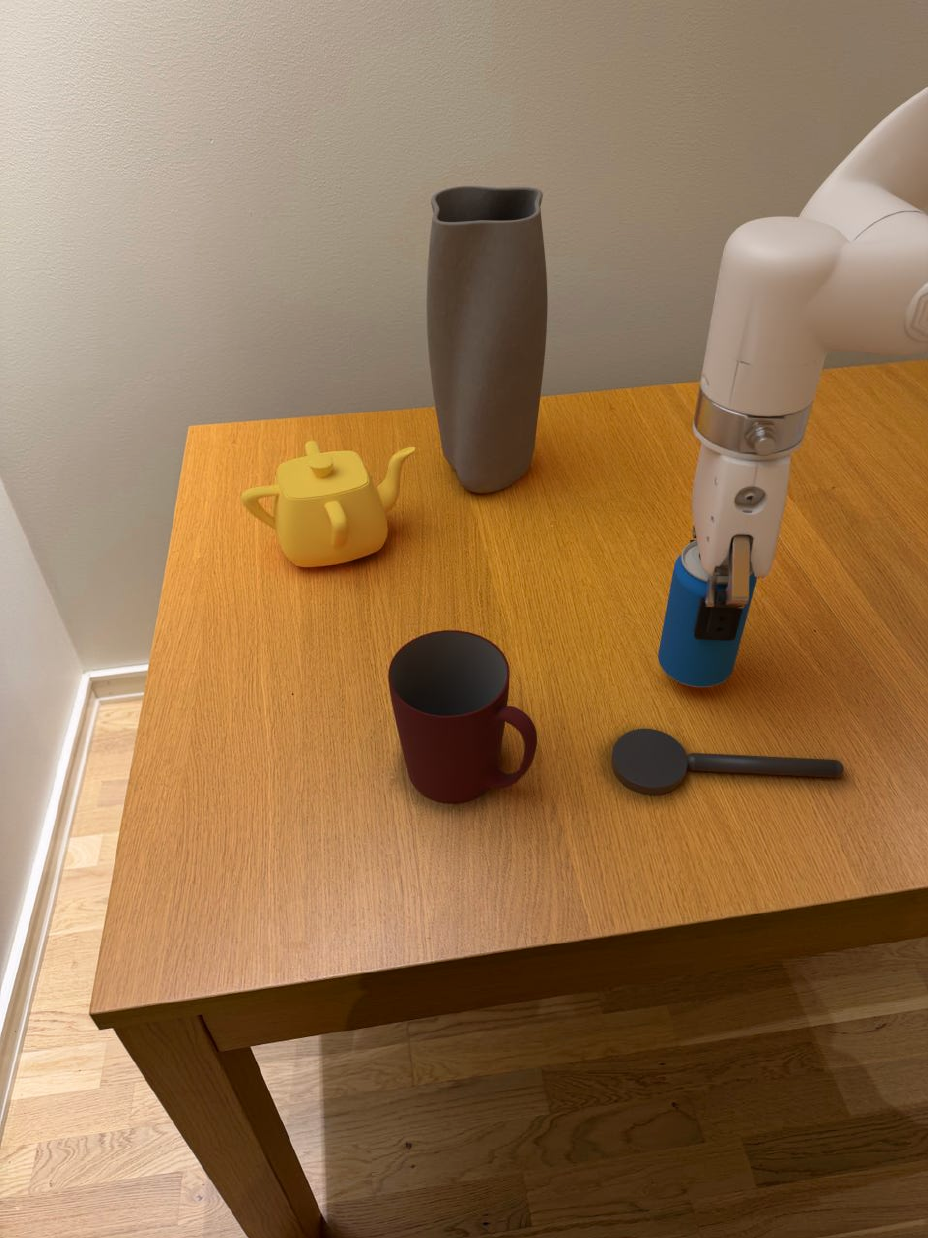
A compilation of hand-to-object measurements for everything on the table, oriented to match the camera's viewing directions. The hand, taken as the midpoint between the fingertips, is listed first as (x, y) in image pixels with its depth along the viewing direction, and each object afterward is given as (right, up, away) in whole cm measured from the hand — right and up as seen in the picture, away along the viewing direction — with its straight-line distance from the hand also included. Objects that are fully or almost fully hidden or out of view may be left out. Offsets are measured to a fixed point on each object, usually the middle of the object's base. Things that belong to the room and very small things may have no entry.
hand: (708, 606), depth 73 cm
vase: (-17, +16, +31) cm, 39 cm away
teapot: (-33, +7, +22) cm, 40 cm away
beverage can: (0, -5, +5) cm, 7 cm away
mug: (-20, -14, -2) cm, 24 cm away
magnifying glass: (0, -13, -2) cm, 13 cm away
